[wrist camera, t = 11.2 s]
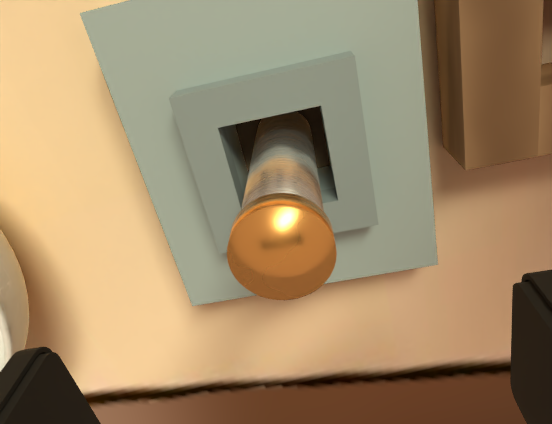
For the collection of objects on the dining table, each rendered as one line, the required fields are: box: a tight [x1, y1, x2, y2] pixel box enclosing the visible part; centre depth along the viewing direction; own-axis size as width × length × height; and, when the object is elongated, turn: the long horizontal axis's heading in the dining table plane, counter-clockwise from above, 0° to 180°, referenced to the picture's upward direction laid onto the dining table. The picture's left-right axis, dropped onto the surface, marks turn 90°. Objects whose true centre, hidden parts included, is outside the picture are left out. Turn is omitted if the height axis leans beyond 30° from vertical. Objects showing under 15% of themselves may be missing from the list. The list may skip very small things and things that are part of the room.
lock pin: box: [227, 111, 337, 300], centre depth 19 cm, size 3×3×12 cm
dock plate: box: [80, 0, 438, 306], centre depth 23 cm, size 14×16×4 cm
